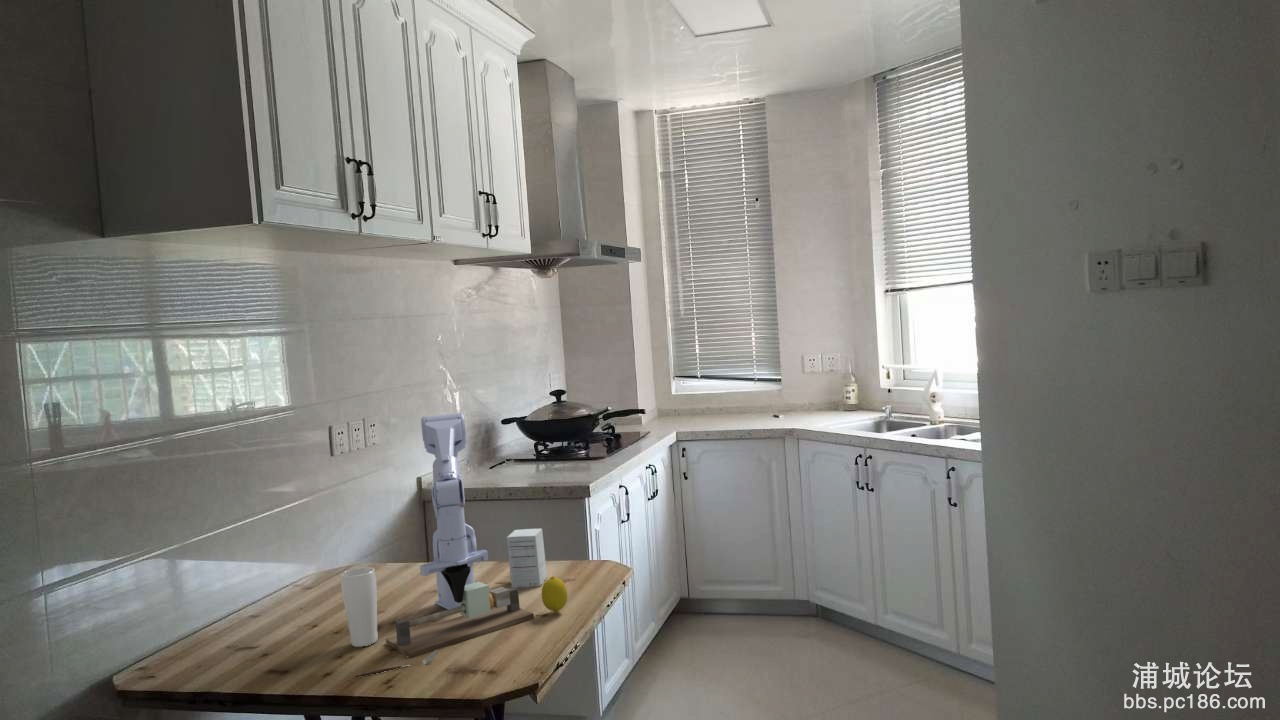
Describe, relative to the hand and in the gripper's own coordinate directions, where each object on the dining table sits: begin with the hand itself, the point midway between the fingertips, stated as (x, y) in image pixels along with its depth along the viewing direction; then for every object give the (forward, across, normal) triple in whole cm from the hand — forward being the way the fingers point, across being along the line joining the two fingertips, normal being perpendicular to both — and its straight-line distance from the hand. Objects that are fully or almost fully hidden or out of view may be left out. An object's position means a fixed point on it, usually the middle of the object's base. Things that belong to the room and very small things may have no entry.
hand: (458, 601), depth 178 cm
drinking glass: (+6, -17, +10) cm, 21 cm away
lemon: (+6, +19, -7) cm, 21 cm away
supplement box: (+6, +27, +18) cm, 33 cm away
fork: (+7, -18, -9) cm, 21 cm away
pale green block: (+4, +4, 0) cm, 5 cm away
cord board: (+6, 0, 0) cm, 6 cm away
